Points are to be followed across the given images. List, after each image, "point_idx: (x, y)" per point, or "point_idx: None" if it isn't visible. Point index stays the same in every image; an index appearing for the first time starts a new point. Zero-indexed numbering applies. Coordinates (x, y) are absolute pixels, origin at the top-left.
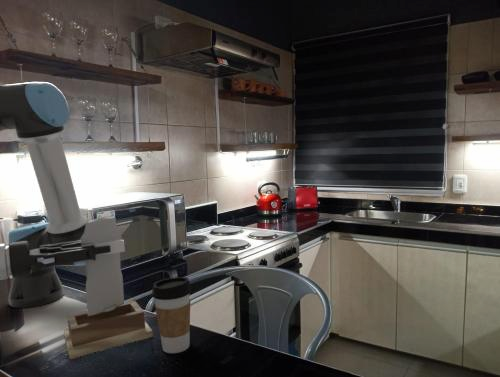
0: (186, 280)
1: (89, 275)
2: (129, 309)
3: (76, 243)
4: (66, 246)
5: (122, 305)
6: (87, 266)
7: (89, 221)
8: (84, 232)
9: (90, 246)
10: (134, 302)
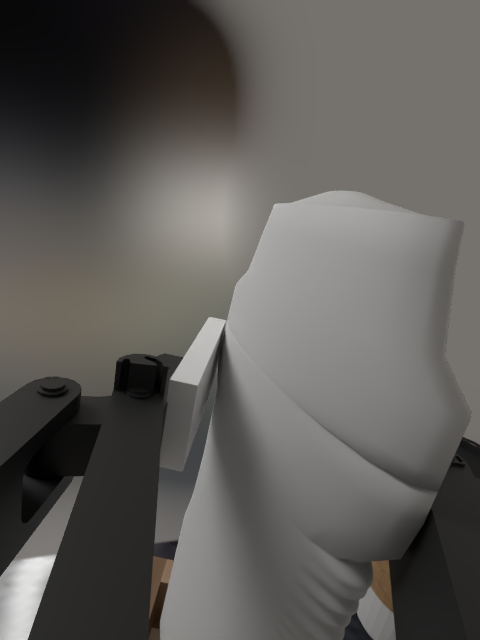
0: (465, 440)
1: None
2: (155, 603)
3: (158, 475)
4: (144, 633)
5: (150, 615)
6: (335, 634)
7: (412, 213)
8: (441, 340)
9: (455, 466)
10: (162, 564)
